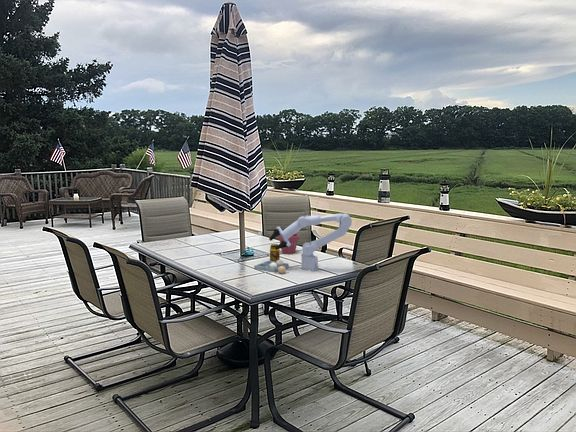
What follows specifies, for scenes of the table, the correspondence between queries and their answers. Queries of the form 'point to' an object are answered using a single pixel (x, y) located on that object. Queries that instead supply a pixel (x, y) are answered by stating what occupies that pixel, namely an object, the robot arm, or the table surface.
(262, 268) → the egg tray
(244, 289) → the table surface
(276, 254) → the condiment
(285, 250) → the plant pot
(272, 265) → the white egg left
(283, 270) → the brown egg
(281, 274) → the dish
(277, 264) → the white egg near
